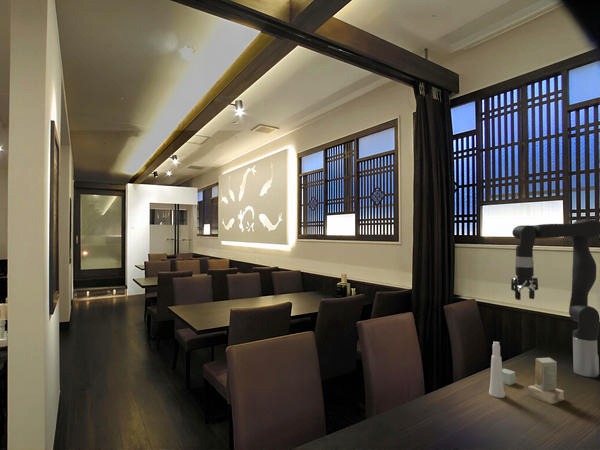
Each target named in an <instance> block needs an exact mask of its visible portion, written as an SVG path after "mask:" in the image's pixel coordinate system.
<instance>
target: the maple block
mask: <svg viewBox="0 0 600 450" xmlns="http://www.w3.org/2000/svg"><path fill="white" fill-rule="evenodd" d="M527 395H528V396H530V397H532V398H534V399H537V400H540V401H542V402H544V403H546V404H547V403H548V404H549V405H553V404H556V403H559V402H561V401H564V400H565V390H564V389H563V390H562V389H559V388H557V387H556V390H550V391H541V390H540V389H539V388H537V387H536V386H535V383H534V384H532V385H529V386H527Z"/></svg>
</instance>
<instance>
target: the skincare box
mask: <svg viewBox="0 0 600 450" xmlns="http://www.w3.org/2000/svg"><path fill="white" fill-rule="evenodd" d="M557 364H558V362H557V361H556V360H554V359H553V358H551V357H536V358H535V369H534V370H535V371H534V372H535V373H534V375H535V376H534V384H535V386H536V387H537V388H539V389H540V390H541V391H550V390H556V388H557V370H558V369H557Z"/></svg>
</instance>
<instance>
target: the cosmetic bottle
mask: <svg viewBox="0 0 600 450" xmlns="http://www.w3.org/2000/svg"><path fill="white" fill-rule="evenodd" d="M492 342H493V344H492V355H491V358H490V359H491V360H490V381H489V382H490V383H489V391H488V394H489V395H490V396H492V397H494V398H500V399H501V398H502V399H503V398H505V397H506V394H505V388H504V383H503V374H502V369H503V362H502V356H501V345H500V341H492Z"/></svg>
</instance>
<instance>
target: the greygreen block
mask: <svg viewBox="0 0 600 450" xmlns="http://www.w3.org/2000/svg"><path fill="white" fill-rule="evenodd" d="M502 374H503V384H505V385H507V386H511V385H514V384H516V381H517V380H516V371H513V370H511V369H507V368H502Z"/></svg>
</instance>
